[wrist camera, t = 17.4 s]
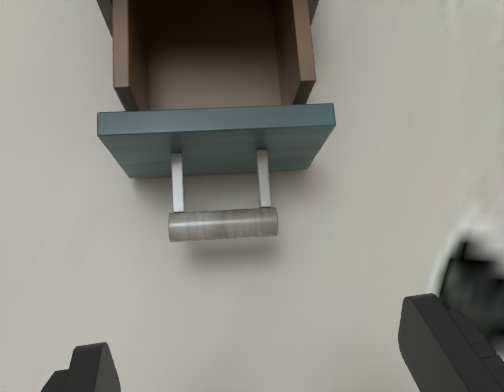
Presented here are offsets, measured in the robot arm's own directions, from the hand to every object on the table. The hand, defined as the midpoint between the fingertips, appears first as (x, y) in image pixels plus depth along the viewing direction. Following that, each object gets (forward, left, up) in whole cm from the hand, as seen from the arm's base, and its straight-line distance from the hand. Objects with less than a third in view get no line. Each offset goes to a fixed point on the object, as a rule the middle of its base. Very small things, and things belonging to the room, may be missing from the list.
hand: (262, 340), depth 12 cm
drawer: (+13, +4, -16) cm, 21 cm away
